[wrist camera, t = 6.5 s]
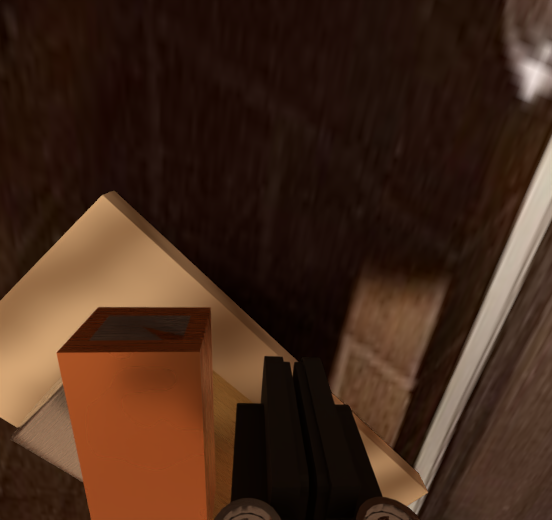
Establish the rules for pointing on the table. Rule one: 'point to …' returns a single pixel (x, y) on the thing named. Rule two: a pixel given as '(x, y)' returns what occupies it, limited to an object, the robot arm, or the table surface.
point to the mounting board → (140, 293)
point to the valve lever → (143, 411)
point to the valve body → (62, 449)
